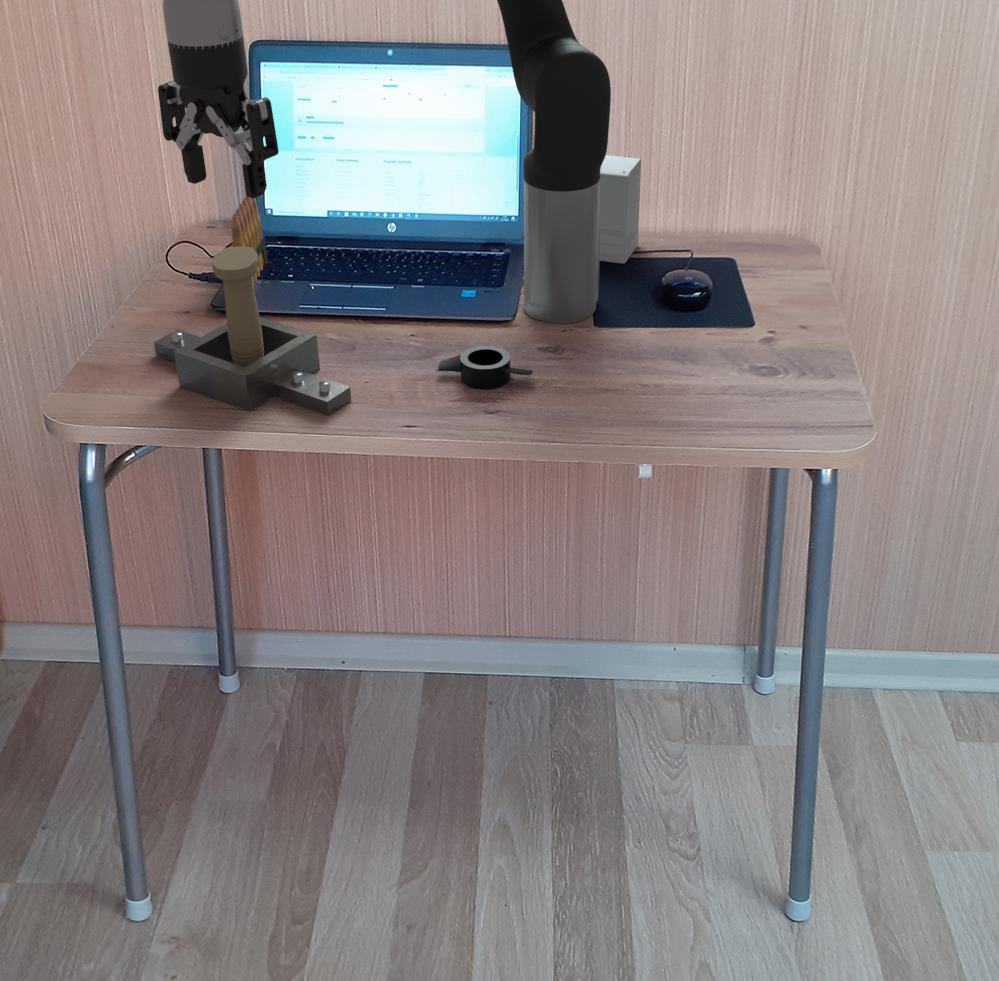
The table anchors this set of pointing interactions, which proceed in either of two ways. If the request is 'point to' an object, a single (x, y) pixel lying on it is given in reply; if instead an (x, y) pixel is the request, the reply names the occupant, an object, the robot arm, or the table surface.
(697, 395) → the table surface
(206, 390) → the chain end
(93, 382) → the table surface
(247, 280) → the handle
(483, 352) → the dark grey winged ring
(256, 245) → the ammunition clip
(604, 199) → the supplement box
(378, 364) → the table surface
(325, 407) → the bracket
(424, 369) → the table surface
